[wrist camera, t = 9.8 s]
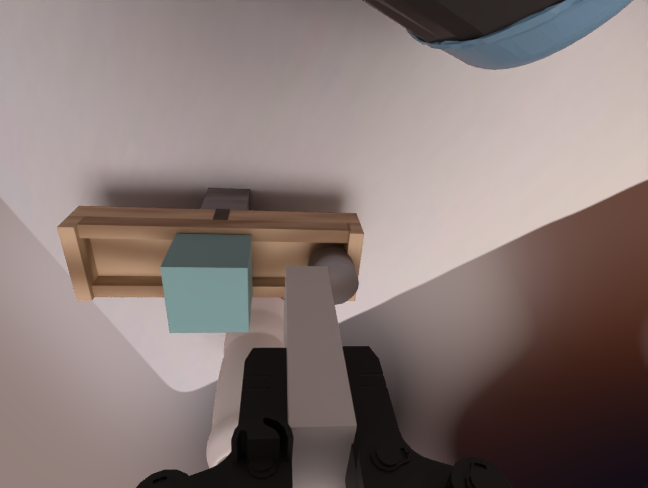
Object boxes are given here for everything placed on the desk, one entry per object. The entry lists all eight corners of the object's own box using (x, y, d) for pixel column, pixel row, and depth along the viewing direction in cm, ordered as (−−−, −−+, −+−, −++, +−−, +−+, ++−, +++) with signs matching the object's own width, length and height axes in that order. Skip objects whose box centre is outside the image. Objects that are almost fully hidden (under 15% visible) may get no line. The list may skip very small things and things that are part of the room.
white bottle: (296, 292, 47) (309, 527, 26) (282, 338, 51) (285, 580, 29) (235, 282, 46) (195, 523, 24) (225, 330, 49) (182, 579, 28)
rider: (179, 225, 34) (160, 267, 28) (252, 226, 35) (247, 268, 29) (186, 284, 37) (169, 332, 31) (253, 284, 38) (248, 332, 32)
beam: (101, 183, 39) (39, 241, 29) (348, 191, 42) (370, 247, 32) (114, 248, 42) (63, 320, 32) (341, 252, 45) (359, 319, 35)
